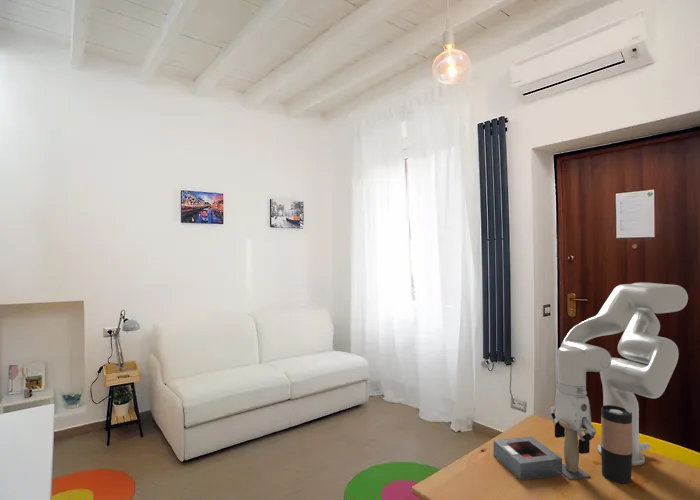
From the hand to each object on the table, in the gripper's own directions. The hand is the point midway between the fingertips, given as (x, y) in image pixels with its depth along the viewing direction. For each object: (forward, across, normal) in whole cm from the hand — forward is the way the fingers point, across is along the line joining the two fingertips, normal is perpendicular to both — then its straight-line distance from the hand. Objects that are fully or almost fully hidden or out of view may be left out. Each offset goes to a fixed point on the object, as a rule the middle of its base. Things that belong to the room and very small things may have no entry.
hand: (571, 444), depth 117 cm
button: (+8, +6, +11) cm, 15 cm away
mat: (+8, 0, 0) cm, 8 cm away
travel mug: (+8, -5, -11) cm, 15 cm away
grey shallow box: (+8, +6, +11) cm, 15 cm away
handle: (+8, 0, 0) cm, 8 cm away
